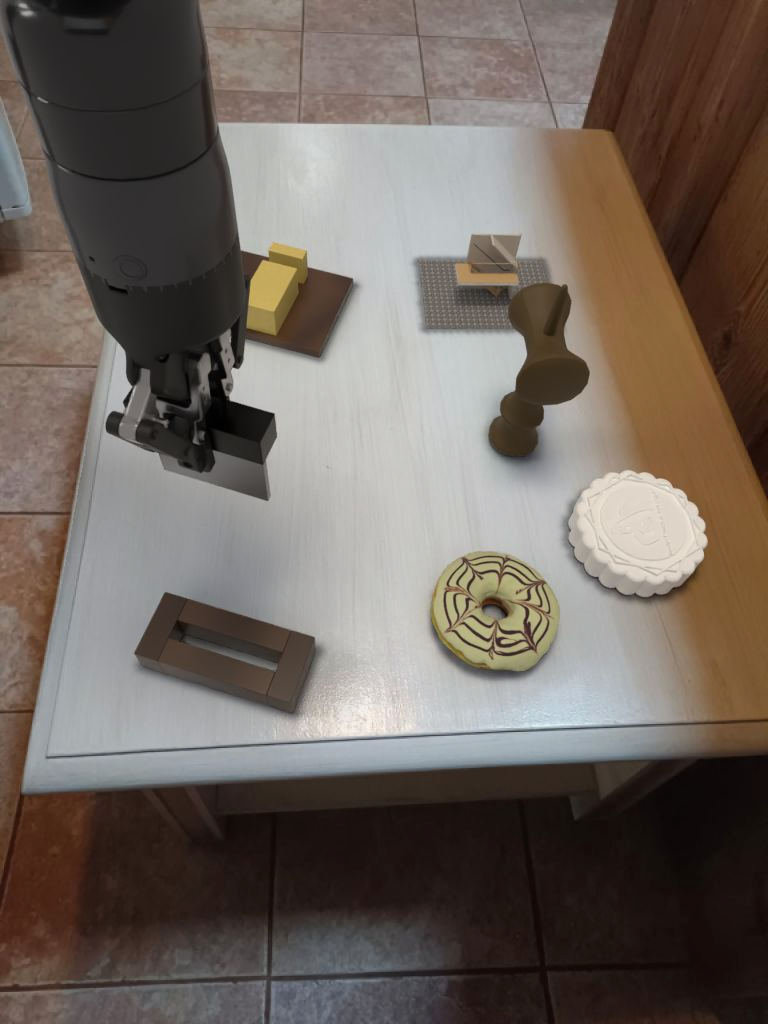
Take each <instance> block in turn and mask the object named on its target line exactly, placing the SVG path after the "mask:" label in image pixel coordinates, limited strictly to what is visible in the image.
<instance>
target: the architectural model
mask: <svg viewBox="0 0 768 1024" xmlns="http://www.w3.org/2000/svg"><path fill="white" fill-rule="evenodd" d="M521 239H522V233H470V240H469V244H468V249H467V256H466V260H459V259H458V260H457V259H455V260H454V259H453V260H452V259H449V260H444V259H438V260H437V259H434V260H433V259H419V260H418V267H419V274H420V275H419V276H420V283H421V292H422V300H423V308H424V316H425V317H424V318H425V325H426V329H472V330H473V329H476V330H477V329H478V330H479V329H481V330H482V329H487V330H489V329H490V330H491V329H495V330H496V329H498V330H499V329H505V330H507V329H514V328H513V326H512V325H511V323H510V321H509V319H508V307H509V304H510V302H511V300H512V298H513V296H514V295H515V294H517V293H518V292H519V291H520V290H521V289H522V288H525V287H527V286H530V285H532V284H539V283H548V282H547V279H546V275H545V271H544V267H543V262H542V260H516V259H517V254H518V251H519V247H520V243H521ZM514 330H515V329H514Z"/></svg>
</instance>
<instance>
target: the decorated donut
mask: <svg viewBox="0 0 768 1024" xmlns="http://www.w3.org/2000/svg"><path fill="white" fill-rule="evenodd" d="M430 604H431V605H430V617H431V622H432V625H433V627H434V629H435V630H436V632H437V635H438V638H439V639H440V641H441V642H442V643H443V644H444V646H445V647H446V648H448V650H450V651H451V652H452V654H454V655H455V656H456V657H457V658H459V659H460V660H462V661H463V662H465V663H466V664H468V665H471V666H472V667H475V668H479V669H482V670H490V671H512V672H525V671H528V670H529V669H531V668H532V667H534V666H535V665H536V664H537V663H538V662H539V661H540V660H541V658H542V657H543V656H544V655H545V654H546V653H547V652H548V651H549V649H550V647H551V645H552V644H553V641H554V640H555V638H556V635H557V633H558V630H559V623H560V620H561V619H560V618H561V608H560V604H559V600H558V599H557V595H556V594H555V592H554V591H553V589H552V588H551V586H550V584H549V583H548V582H547V581H546V580H545V578H544V577H543V576H542V574H540V573H539V571H537V570H536V569H535V568H534V567H533V566H531V565H529V564H528V563H526V562H525V561H523V560H522V559H520V558H517V557H515V556H513V555H510V554H507V553H501V552H497V551H489V550H487V551H486V550H485V551H484V550H483V551H482V550H479V551H478V550H477V551H473V552H469V553H468V554H466V555H463V556H461V557H458V558H456V559H455V560H453V561H452V562H451V563H449V564H447V565H446V567H445V568H444V570H443V571H442V572H441V574H440V575H439V577H438V579H437V582H436V583H435V587H434V591H433V593H432V597H431V602H430ZM489 604H492V605H496V606H499V607H500V608H502V609H503V611H504V612H505V614H506V617H503V618H499V619H496V618H494V617H492V616H488V615H486V614H485V613H484V611H483V607H484V605H489Z"/></svg>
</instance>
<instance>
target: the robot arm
mask: <svg viewBox="0 0 768 1024" xmlns="http://www.w3.org/2000/svg"><path fill="white" fill-rule="evenodd" d="M200 4H201V3H200V0H0V31H1V35H2V38H3V42H4V45H5V48H6V51H7V56H8V58H9V60H10V64H11V65H12V69H13V72H14V74H15V77H16V79H17V83H18V85H19V88H20V91H21V93H22V96H23V99H24V102H25V105H26V107H27V110H28V112H29V115H30V118H31V121H32V124H33V127H34V130H35V132H36V135H37V138H38V140H39V143H40V147H41V151H42V154H43V157H44V162H45V166H46V172H47V178H48V182H49V185H50V190H51V194H52V198H53V201H54V204H55V207H56V210H57V213H58V215H59V218H60V220H61V224H62V225H63V226H62V227H63V228H64V231H65V234H66V237H67V239H68V242H69V245H70V248H71V251H72V252H73V256H74V257H75V261H76V264H77V266H78V269H79V272H80V274H81V277H82V280H83V284H84V286H85V288H86V291H87V294H88V297H89V299H90V302H91V305H92V307H93V310H94V313H95V315H96V317H97V319H98V321H99V322H100V324H101V325H102V326H103V328H104V329H105V330H106V331H107V332H108V334H110V336H111V337H112V338H113V339H114V340H115V341H116V342H117V344H118V345H119V346H120V347H121V348H122V350H123V351H124V354H125V375H126V376H125V377H126V380H127V382H128V383H129V385H130V386H131V388H132V387H133V391H132V394H131V397H130V400H129V403H128V406H127V408H125V407H124V409H123V411H122V412H120V411H118V410H117V411H116V410H112V411H111V412H110V413H109V414H108V415H107V418H106V421H105V427H104V428H105V432H106V433H107V434H109V435H111V436H113V437H115V438H118V439H120V440H122V441H124V442H127V443H128V444H131V445H133V446H136V447H137V448H139V449H142V450H144V451H146V452H150V453H154V454H155V453H157V454H158V453H159V454H163V455H166V456H169V457H172V458H174V459H176V460H177V461H178V465H179V466H181V467H183V468H186V469H189V470H192V471H196V472H199V473H202V472H207V473H209V472H211V470H212V468H213V467H214V465H215V463H216V462H215V457H214V453H213V450H212V447H211V443H210V438H209V434H208V432H207V427H206V420H205V414H206V412H207V411H208V409H209V408H210V406H211V398H210V395H213V396H217V397H220V398H223V399H227V400H230V401H231V397H230V395H231V393H232V392H233V390H234V377H233V373H232V370H233V369H235V370H239V369H240V368H241V367H242V365H243V363H244V360H245V358H244V357H245V348H246V347H245V346H246V338H245V337H246V326H247V315H248V305H249V294H250V285H251V278H250V275H249V274H246V273H244V272H243V264H242V256H241V249H242V248H241V242H240V233H239V226H238V219H237V211H236V204H235V203H236V202H235V195H234V187H233V181H232V176H231V169H230V164H229V161H228V157H227V153H226V150H225V147H224V143H223V139H222V136H221V132H220V131H221V130H220V126H219V121H218V114H217V107H216V106H217V105H216V100H215V98H216V97H215V92H214V91H215V90H214V85H213V78H212V77H213V76H212V71H211V70H212V69H211V64H210V63H211V62H210V53H209V47H208V42H207V37H206V35H207V34H206V31H205V26H204V21H203V17H202V12H201V11H202V10H201V5H200ZM176 415H178V416H181V417H184V418H185V419H184V418H181V417H177V416H176ZM159 454H158V455H159Z"/></svg>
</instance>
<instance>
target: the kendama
mask: <svg viewBox="0 0 768 1024" xmlns="http://www.w3.org/2000/svg"><path fill="white" fill-rule="evenodd" d="M571 309H572V298H571V296H570V293H569V287H568V285H567V284H566V283H563V284H562V285H559V284H555V283H551V282H547V283H539V284H532V285H530V286H527V287H525V288H522V289H521V290H520V291H519V292H518V293H517V294H515V295H514V296H513V298H512V300H511V302H510V304H509V307H508V319H509V321H510V323H511V325H512V326H513V328H514V330H515V331H516V332H517V333H519V335H520V336H522V337H523V340H524V344H525V350H526V357H525V359H524V362H523V364H522V366H521V368H520V370H519V371H518V373H517V375H516V376H515V386H514V387H515V388H514V390H513V391H511V392H508V393H507V394H504V395H503V397H502V398H501V401H500V404H499V412H500V415H499V416H497V417H495V418H493V419H492V421H491V423H490V425H489V428H488V438H489V441H490V444H491V445H492V447H493V448H494V449H495V451H497V452H499V453H501V454H502V455H505V456H509V457H515V458H516V457H523V456H527V455H529V454H531V453H533V452H534V451H535V449H536V448H537V446H538V444H539V432H538V429H537V428H538V427H540V426H541V425H542V424H543V421H544V419H545V409H544V406H555V405H560V404H564V403H567V402H570V401H572V400H574V399H575V398H576V397H578V396H580V394H582V392H583V391H584V389H585V388H586V387H587V385H588V384H589V379H590V373H591V371H590V369H589V365H588V364H587V362H586V360H584V359H583V358H582V357H580V356H578V355H576V354H575V353H573V352H572V351H570V350H569V349H568V346H567V343H566V338H565V327H566V324H567V322H568V319H569V316H570V314H571Z"/></svg>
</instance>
